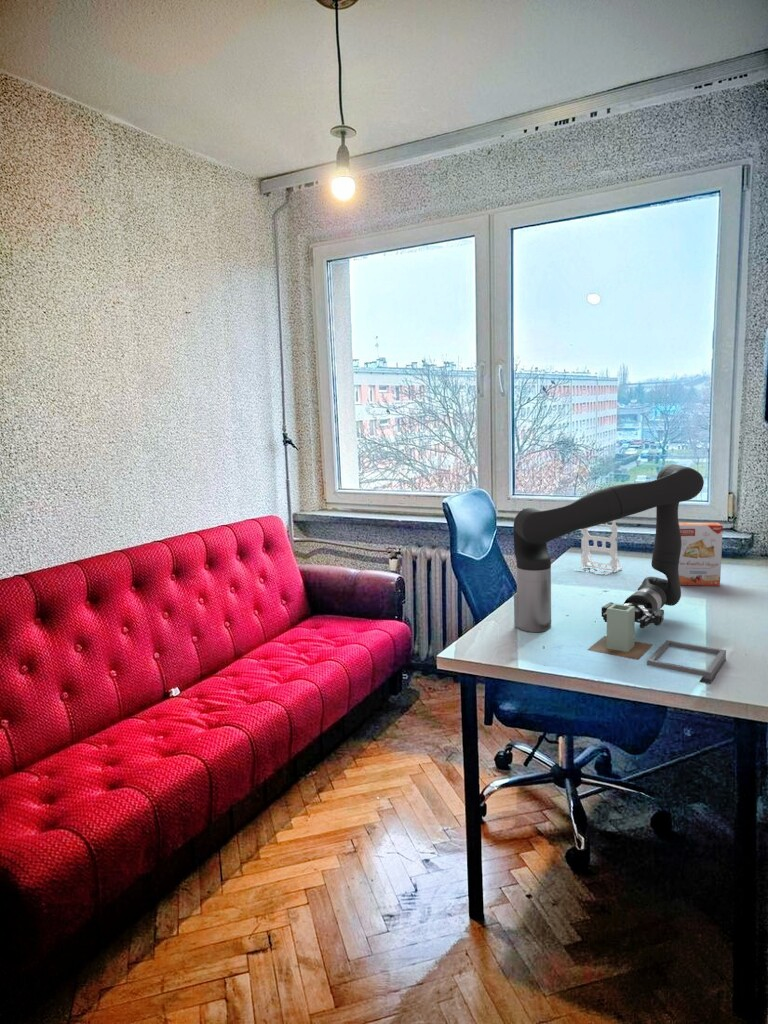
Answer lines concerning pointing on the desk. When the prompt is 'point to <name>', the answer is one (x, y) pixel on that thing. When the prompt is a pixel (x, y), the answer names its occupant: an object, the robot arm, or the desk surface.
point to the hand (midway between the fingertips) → (623, 621)
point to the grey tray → (707, 674)
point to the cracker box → (700, 554)
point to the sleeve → (620, 627)
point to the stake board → (634, 653)
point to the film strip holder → (600, 549)
